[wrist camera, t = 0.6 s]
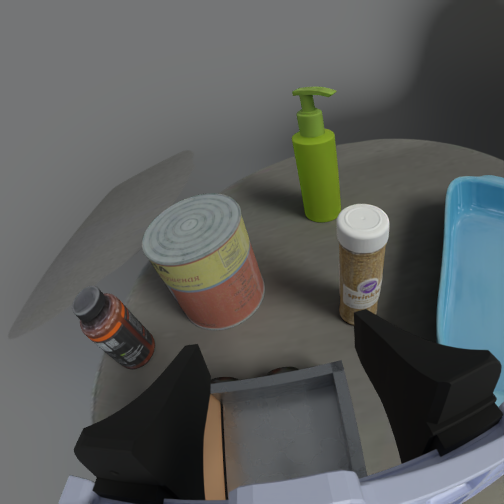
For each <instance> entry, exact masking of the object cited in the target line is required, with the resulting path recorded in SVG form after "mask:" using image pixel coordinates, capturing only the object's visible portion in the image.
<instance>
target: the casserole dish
mask: <svg viewBox="0 0 504 504" xmlns="http://www.w3.org/2000/svg"><path fill="white" fill-rule="evenodd" d="M436 331H437V332H436V339H437V343H438V344H442V345H446V346H451V347H456V348H463V349H475V350H489V351H490V352H491V353H492V354H493V355H494V356H495V357H496V358H497V359H498V360H499V361H500V363H501V365H502V368H501V374H500V378H499V380H498V382H497V385H496V387H495V389H494V392H493V394H494V395H495V396H496V398H497V400H496V402H495V404H496V405H497V406H498V407H499V406H500V405H501V404H502V403H503V402H504V178H501V177H497V176H491V175H485V176H481V177H472V176H464V177H459V178H456V179H455V180H453V181H452V182H451V183H450V185H449V187H448V189H447V193H446V200H445V216H444V241H443V253H442V264H441V273H440V283H439V292H438V300H437V313H436Z"/></svg>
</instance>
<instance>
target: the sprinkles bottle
mask: <svg viewBox="0 0 504 504" xmlns="http://www.w3.org/2000/svg"><path fill="white" fill-rule="evenodd" d="M388 236H389V219H388V216H387V215H386V213H385V212H384V211H382V210H381V209H380V208H378V207H376V206H373V205H368V204H355V205H351V206H349V207H347V208H345V209H343V210H342V211H341V212H340V213H339V215H338V217H337V238H338V241H339V249H340V258H339V292H340V307H339V311H340V315H341V317H342V319H343V320H344V321H346V322H348V323H349V324H352V325H354V312H356V311H360V310H364V309H367V310H369V311H370V312H372V313H374V314H375V315H376V313H377V303H378V298H379V295H380V289H381V283H382V272H383V263H384V254H385V245H386V243H387V241H388Z"/></svg>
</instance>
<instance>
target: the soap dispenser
mask: <svg viewBox="0 0 504 504" xmlns="http://www.w3.org/2000/svg"><path fill="white" fill-rule="evenodd" d="M335 92H336V91H335V90H333V89H329V88H324V87H305V88H298V89H296V90H295V91H293V92H292V93H293V96H296V95H299V96H300V101H301V107H302V109H301V110H300V111H299V112H297V120H298V125H299V130H300V131H299V132H297V133H296V134H294V135H293V137H292V142H293V148H294V153H295V158H296V164H297V169H298V175H299V180H300V186H301V192H302V198H303V204H304V211H305V215H306V217H307V218H308V219H310V220H312V221H315V222H328V221H332V220H334V219H336V218H337V217H338V215H339V213H340V212H341V202H340V188H339V176H338V165H337V154H336V145H335V136H334V133H333V132H332V131H331V130H328V129H324V123H323V116H322V111H321V110H320V109H317V108H315V106H314V101H313V95H321V96H326V97H330V96H331V95H333V94H334V93H335Z"/></svg>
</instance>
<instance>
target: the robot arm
mask: <svg viewBox="0 0 504 504" xmlns="http://www.w3.org/2000/svg"><path fill="white" fill-rule="evenodd" d="M354 334H355V349H356V351H357V354H358V357H359V359H360V362H361V364H362V366H363V368H364V370H365V372H366V373H367V375H368V377H369V379H370V381H371V383H372V384H373V386H374V388H375V390H376V392H377V394H378V395H379V397H380V399H381V401H382V404H383V406H384V409H385V411H386V414H387V417H388V419H389V422H390V425H391V428H392V431H393V434H394V437H395V441H396V444H397V447H398V451H399V455H400V459H401V463H402V464H400V465H398V466H395V467H392V468H390V469H387V470H384V471H381V472H378V473H375V474H372V475H369V476H366V477H363V478H358V476H357V474H356V473H355V472H353V471H348V470H335V471H328V472H323V473H318V474H313V475H308V476H303V477H298V478H292V479H286V480H279V481H272V482H263V483H254V484H249V485H243V486H239V487H237V488H236V489H234V490H232V491H230V492H229V500H205V489H204V465H203V450H204V432H205V425H206V419H207V413H208V407H209V400H210V389H211V376H210V373H209V371H208V368H207V366H206V364H205V361H204V359H203V356H202V354H201V351H200V348H199V346H198V344H194V345H187V346H185V347H184V348H183V349H182V350H181V351H180V353H179V354H178V355H177V356H176V358H175V359H174V360H173V361H172V363H171V364H170V365H169V366H168V367H167V368H166V370H165V371H164V372H163V373H162V374H161V375H160V376H159V377H158V378H157V380H156V381H155V382H154V383H153V384H152V385H151V386H150V387H149V388H148V389H147V390H146V391H145V392H143V393H142V394H141V395H140V396H139V397H138V398H136V399H135V400H134V401H132V402H131V403H130V404H128V405H127V406H125V407H124V408H123V409H121V410H120V411H118V412H116V413H115V414H113V415H111V416H109V417H108V418H106V419H104V420H102V421H100V422H97V423H95V424H93V425H91V426H88V427H86V428H84V429H83V431H82V433H81V435H80V437H79V439H78V441H77V443H76V446H75V448H74V453H75V455H76V457H77V458H78V460H79V461H80V462H81V463H82V464H83V465H84V466H85V467H86V468H87V469H89V471H91V472H92V473H93V474H94V475H95V476H96V477H97V479H96V482H95V483H94V482H93V481H91V480H88V479H85V478H81V477H77V476H73V475H70V476H69V477H68V480H67V483H66V485H65V488H64V490H63V493H62V495H61V498H60V500H59V503H58V504H462V503H463V502H465V501H467V500H468V499H470V498H471V497H473V496H474V495H476V494H477V493H479V492H480V491H482V490H483V489H484V488H486V487H487V486H489V485H490V484H491V483H493V482H494V481H496V480H497V479H498V478H500V477H501V476H502V475H504V402H503V403H502V404H501V405H500V406H499V407H498V406H497V405H496V404H495V402H496V400H497V398H496V396H495V395H494V394H493V392H494V389H495V387H496V385H497V382H498V380H499V378H500V374H501V368H502V365H501V363H500V361H499V360H498V359H497V358H496V357H495V356H494V355H493V354H492V353H491V352H490V351H489V350H475V349H463V348H456V347H451V346H446V345H442V344H438V343H434V342H431V341H428V340H425V339H423V338H420V337H417V336H415V335H412V334H410V333H408V332H406V331H404V330H402V329H400V328H398V327H396V326H394V325H392V324H391V323H389V322H387V321H385V320H384V319H382V318H380V317H379V316H377V315H375V314H374V313H372V312H370V311H369V310H367V309H364V310H360V311H356V312H354Z"/></svg>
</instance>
